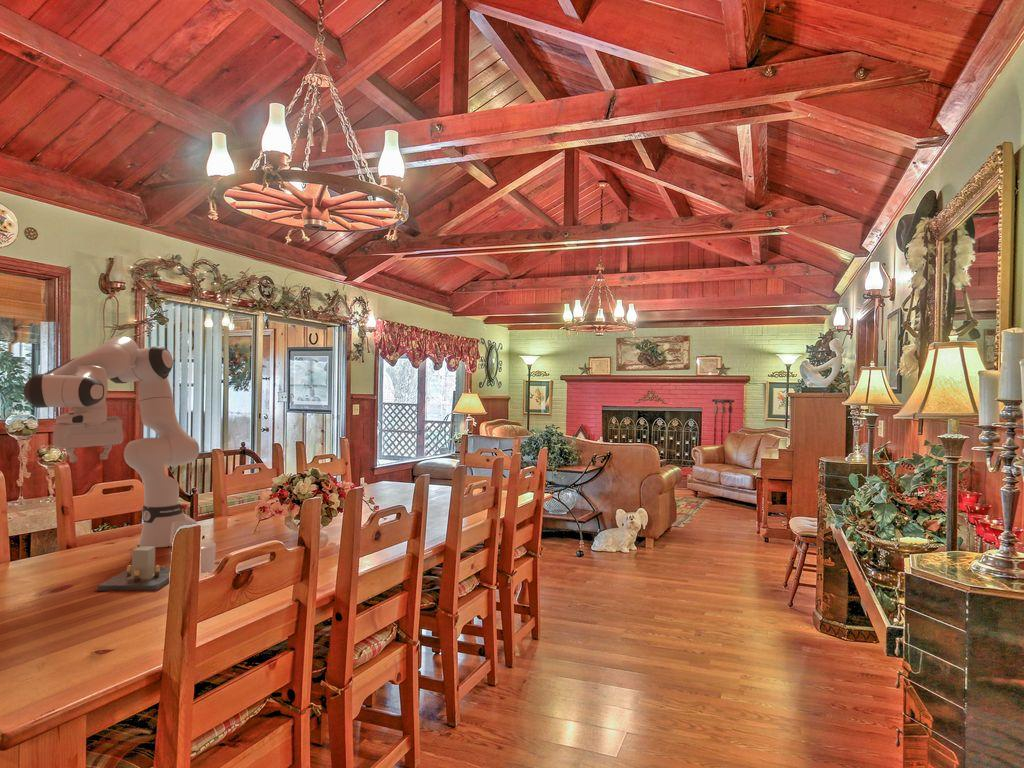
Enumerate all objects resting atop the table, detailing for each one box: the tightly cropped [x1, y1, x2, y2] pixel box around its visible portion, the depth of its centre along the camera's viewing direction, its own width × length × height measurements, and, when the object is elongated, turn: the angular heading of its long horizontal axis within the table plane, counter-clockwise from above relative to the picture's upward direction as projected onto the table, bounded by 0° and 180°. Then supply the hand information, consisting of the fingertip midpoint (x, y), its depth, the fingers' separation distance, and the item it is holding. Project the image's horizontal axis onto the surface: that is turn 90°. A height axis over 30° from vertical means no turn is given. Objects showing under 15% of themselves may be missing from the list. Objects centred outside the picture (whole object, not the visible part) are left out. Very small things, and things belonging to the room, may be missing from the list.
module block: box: [131, 546, 156, 578], centre depth 187 cm, size 4×4×8 cm
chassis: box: [97, 564, 171, 592], centre depth 187 cm, size 18×16×4 cm
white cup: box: [200, 541, 217, 577], centre depth 191 cm, size 8×8×10 cm
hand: (88, 460), depth 197 cm, fingers open, 8 cm apart
